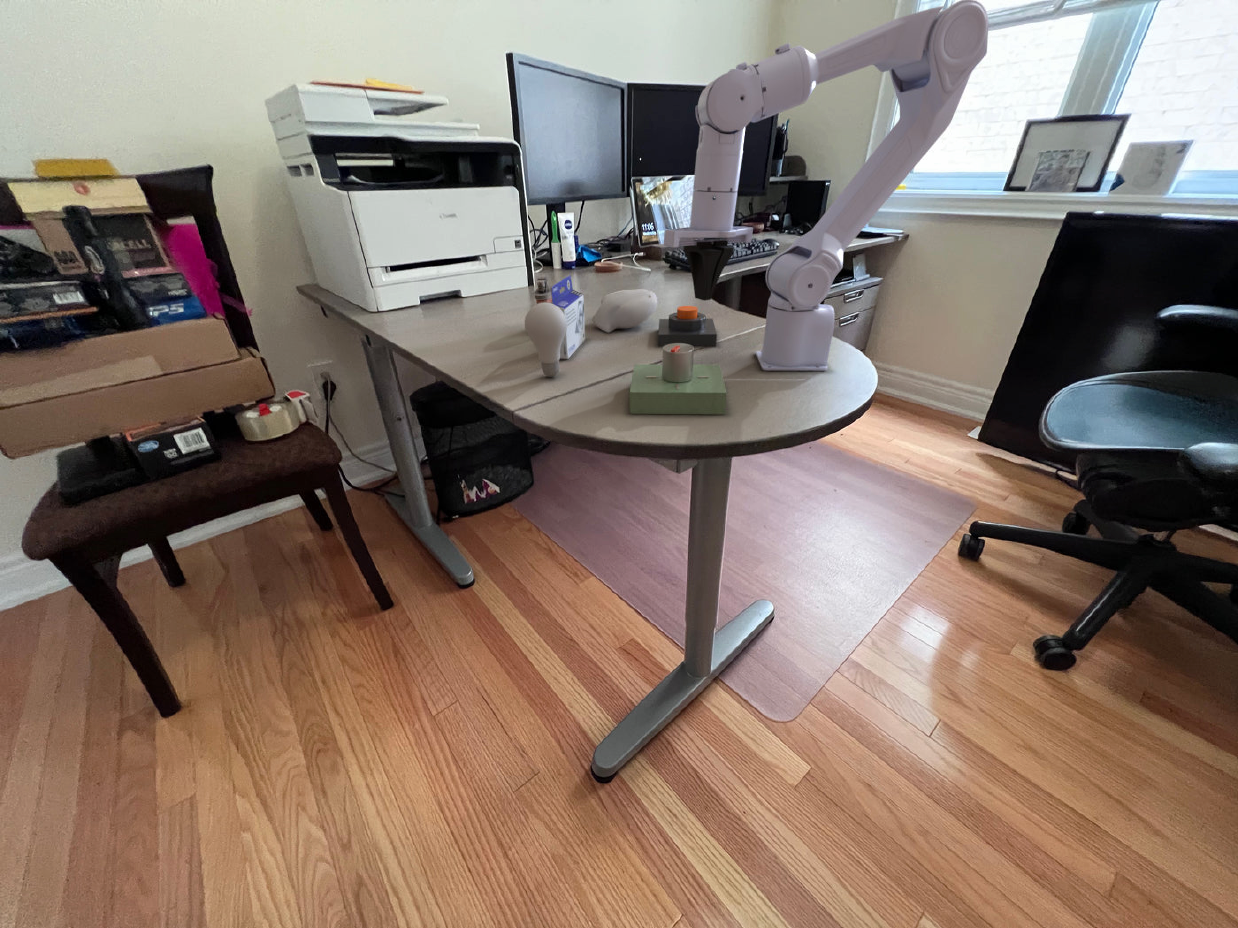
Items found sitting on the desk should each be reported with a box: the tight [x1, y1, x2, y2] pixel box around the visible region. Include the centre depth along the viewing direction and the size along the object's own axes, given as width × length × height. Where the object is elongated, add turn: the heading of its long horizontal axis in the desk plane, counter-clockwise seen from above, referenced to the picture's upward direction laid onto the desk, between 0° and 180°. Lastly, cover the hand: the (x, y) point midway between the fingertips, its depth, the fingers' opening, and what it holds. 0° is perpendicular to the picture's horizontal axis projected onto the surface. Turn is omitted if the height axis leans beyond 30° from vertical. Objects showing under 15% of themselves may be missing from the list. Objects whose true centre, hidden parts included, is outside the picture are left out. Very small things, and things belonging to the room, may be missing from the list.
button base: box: [657, 311, 718, 348], centre depth 88 cm, size 10×10×4 cm
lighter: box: [533, 274, 552, 304], centre depth 94 cm, size 8×3×10 cm, turn 179°
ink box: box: [551, 274, 586, 360], centre depth 83 cm, size 12×2×12 cm, turn 168°
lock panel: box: [629, 364, 728, 416], centre depth 66 cm, size 12×10×3 cm
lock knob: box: [661, 343, 695, 383], centre depth 64 cm, size 4×4×4 cm
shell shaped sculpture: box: [591, 288, 658, 333], centre depth 96 cm, size 13×13×6 cm
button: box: [676, 305, 699, 319], centre depth 87 cm, size 4×4×2 cm
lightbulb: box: [524, 303, 567, 378], centre depth 72 cm, size 6×6×11 cm
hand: (702, 298), depth 71 cm, fingers closed
